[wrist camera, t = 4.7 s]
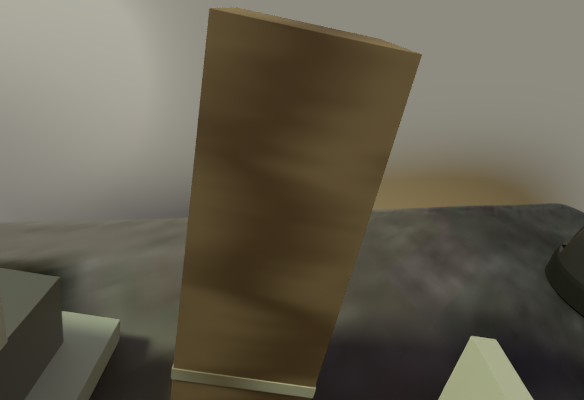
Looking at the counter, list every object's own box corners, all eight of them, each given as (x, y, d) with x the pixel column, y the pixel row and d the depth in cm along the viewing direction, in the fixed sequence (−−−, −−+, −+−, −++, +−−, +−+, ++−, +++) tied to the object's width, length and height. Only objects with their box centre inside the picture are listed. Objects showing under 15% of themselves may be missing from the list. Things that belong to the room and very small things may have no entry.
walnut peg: (294, 351, 24) (380, 39, 17) (295, 451, 19) (424, 55, 11) (194, 336, 24) (235, 7, 16) (165, 435, 18) (207, 7, 11)
